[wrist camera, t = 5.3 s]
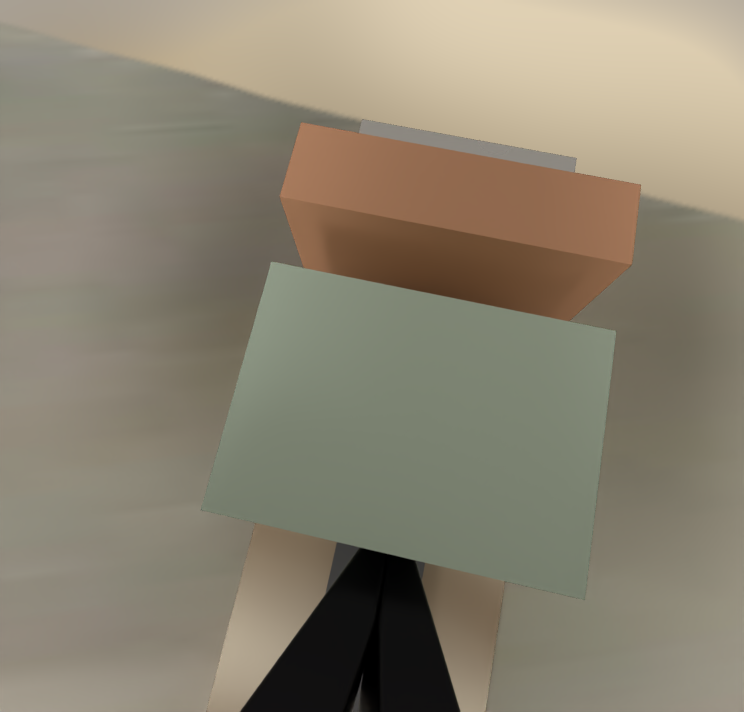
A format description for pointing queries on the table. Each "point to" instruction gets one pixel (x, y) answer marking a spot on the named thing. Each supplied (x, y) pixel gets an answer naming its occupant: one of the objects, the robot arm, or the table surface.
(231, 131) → the table surface
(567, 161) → the connector
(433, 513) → the sleeve
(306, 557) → the track board
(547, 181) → the band
